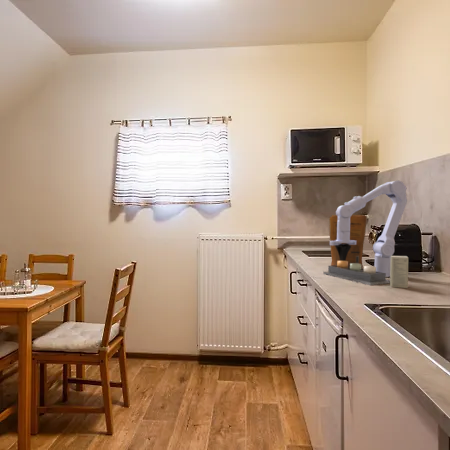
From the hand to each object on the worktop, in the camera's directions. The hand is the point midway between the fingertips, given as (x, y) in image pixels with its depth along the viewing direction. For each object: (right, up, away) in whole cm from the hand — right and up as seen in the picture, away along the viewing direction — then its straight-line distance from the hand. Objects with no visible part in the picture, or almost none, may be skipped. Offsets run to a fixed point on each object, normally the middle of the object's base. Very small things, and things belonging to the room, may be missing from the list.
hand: (342, 260), depth 170 cm
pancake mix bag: (+11, -6, +27) cm, 29 cm away
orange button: (0, -4, 0) cm, 4 cm away
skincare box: (+15, -8, -24) cm, 29 cm away
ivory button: (+7, -5, -14) cm, 16 cm away
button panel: (+3, -7, -7) cm, 10 cm away
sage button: (+3, -4, -7) cm, 9 cm away
